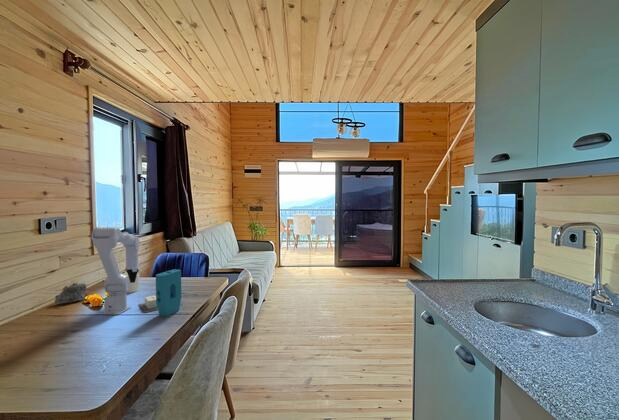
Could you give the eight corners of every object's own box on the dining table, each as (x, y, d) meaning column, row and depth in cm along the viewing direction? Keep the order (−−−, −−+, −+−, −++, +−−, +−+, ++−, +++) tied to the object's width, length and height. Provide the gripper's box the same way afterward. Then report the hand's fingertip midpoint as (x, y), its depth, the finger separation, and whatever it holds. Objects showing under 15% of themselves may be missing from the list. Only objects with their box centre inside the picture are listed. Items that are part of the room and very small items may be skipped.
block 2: (163, 317, 138) (162, 275, 137) (155, 316, 140) (154, 275, 139) (182, 308, 149) (181, 270, 148) (175, 307, 151) (174, 269, 150)
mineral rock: (53, 306, 152) (53, 287, 152) (61, 300, 162) (61, 282, 162) (83, 303, 157) (83, 284, 157) (89, 297, 167) (89, 279, 167)
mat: (166, 308, 150) (166, 307, 150) (144, 313, 144) (144, 312, 144) (159, 300, 161) (159, 300, 161) (138, 305, 154) (138, 304, 154)
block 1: (155, 302, 157) (159, 306, 151) (144, 304, 154) (148, 309, 148) (155, 295, 157) (159, 298, 151) (144, 297, 154) (148, 301, 148)
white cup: (134, 293, 174) (134, 276, 173) (121, 293, 174) (121, 276, 174) (142, 289, 182) (142, 273, 181) (130, 289, 182) (129, 273, 181)
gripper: (143, 259, 158) (143, 283, 159) (137, 255, 169) (138, 278, 170) (127, 260, 154) (128, 286, 154) (123, 256, 165) (123, 280, 165)
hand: (132, 282), depth 162 cm, fingers closed
